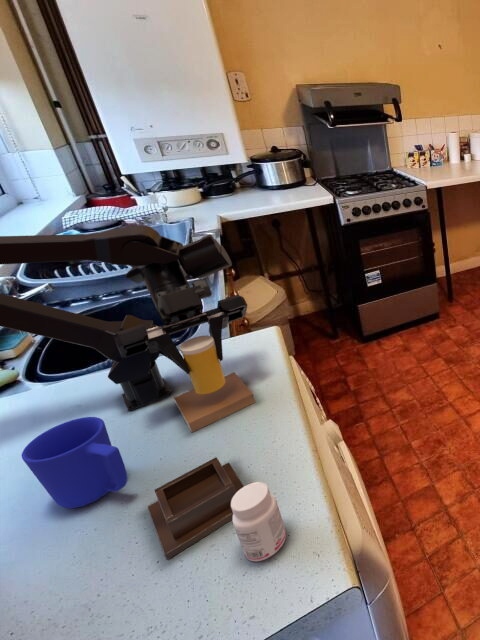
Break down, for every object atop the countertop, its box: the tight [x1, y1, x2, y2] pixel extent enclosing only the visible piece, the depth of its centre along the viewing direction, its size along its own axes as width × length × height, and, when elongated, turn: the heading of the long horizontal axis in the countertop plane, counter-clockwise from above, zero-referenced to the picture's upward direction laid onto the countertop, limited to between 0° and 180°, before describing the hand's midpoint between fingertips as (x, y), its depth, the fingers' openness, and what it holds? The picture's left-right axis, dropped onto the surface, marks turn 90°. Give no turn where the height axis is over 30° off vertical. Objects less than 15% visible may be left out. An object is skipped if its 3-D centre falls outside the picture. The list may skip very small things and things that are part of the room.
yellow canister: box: [179, 335, 226, 394], centre depth 76 cm, size 5×5×9 cm
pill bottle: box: [231, 481, 287, 562], centre depth 54 cm, size 5×5×8 cm
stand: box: [147, 456, 245, 561], centre depth 60 cm, size 10×10×4 cm
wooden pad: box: [173, 371, 256, 433], centre depth 80 cm, size 10×10×2 cm
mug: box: [21, 416, 128, 509], centre depth 61 cm, size 8×12×10 cm
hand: (205, 366), depth 75 cm, fingers closed on yellow canister, 4 cm apart
